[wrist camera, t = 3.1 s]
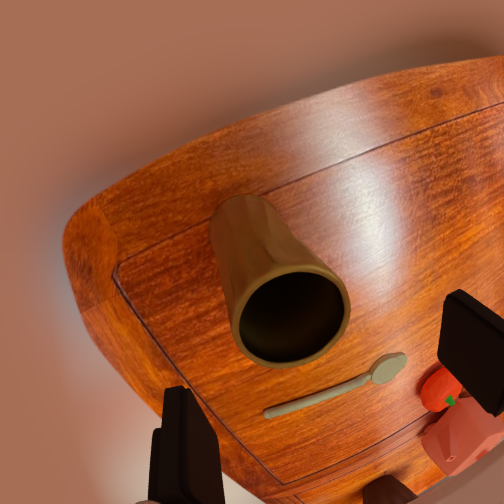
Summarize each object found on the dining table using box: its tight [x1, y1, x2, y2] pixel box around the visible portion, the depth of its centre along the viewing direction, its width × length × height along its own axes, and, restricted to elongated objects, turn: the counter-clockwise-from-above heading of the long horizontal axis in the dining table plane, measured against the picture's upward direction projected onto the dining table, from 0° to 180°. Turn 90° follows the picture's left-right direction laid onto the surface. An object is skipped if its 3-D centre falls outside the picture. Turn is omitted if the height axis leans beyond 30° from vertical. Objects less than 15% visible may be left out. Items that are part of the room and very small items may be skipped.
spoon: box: [263, 353, 407, 419], centre depth 34 cm, size 19×4×1 cm, turn 104°
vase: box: [209, 195, 351, 369], centre depth 19 cm, size 6×6×14 cm
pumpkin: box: [421, 367, 463, 412], centre depth 35 cm, size 7×8×6 cm
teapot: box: [421, 396, 504, 476], centre depth 38 cm, size 22×13×14 cm, turn 65°
